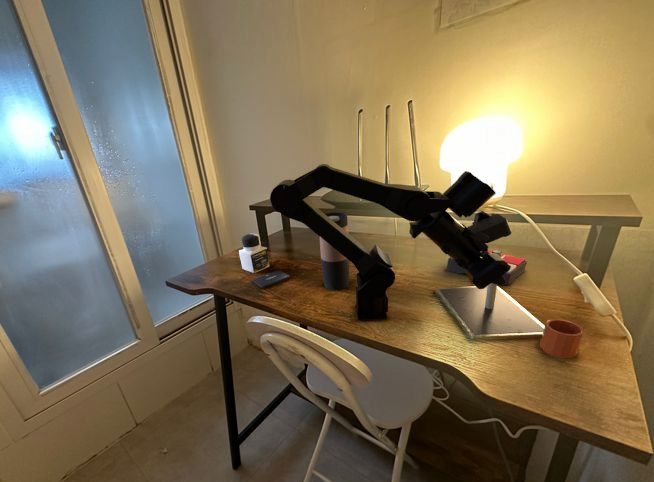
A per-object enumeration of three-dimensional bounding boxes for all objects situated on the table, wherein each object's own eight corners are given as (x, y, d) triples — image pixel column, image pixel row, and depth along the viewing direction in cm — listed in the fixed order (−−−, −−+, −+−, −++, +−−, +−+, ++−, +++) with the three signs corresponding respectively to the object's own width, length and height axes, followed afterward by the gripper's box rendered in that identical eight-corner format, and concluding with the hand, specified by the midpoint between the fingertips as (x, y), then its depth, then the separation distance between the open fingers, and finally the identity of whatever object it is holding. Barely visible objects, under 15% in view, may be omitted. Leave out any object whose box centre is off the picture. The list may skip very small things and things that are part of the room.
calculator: (511, 272, 72) (448, 256, 84) (506, 287, 74) (445, 270, 86) (528, 258, 78) (467, 244, 89) (524, 272, 80) (464, 257, 91)
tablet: (471, 341, 58) (471, 336, 58) (434, 292, 76) (435, 288, 76) (552, 338, 56) (554, 333, 56) (495, 288, 74) (496, 284, 73)
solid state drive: (252, 281, 96) (252, 279, 96) (278, 271, 100) (278, 269, 100) (262, 288, 91) (262, 286, 90) (290, 277, 95) (290, 275, 94)
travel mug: (333, 276, 92) (329, 211, 83) (355, 282, 87) (353, 213, 78) (317, 286, 87) (311, 218, 79) (339, 293, 82) (336, 221, 74)
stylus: (490, 309, 65) (498, 253, 59) (483, 306, 66) (490, 251, 61) (495, 307, 65) (504, 251, 60) (488, 304, 66) (496, 249, 61)
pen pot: (551, 360, 51) (559, 336, 49) (532, 342, 56) (539, 319, 54) (583, 359, 51) (592, 335, 49) (562, 341, 55) (569, 318, 53)
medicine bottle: (254, 273, 102) (247, 240, 97) (242, 269, 107) (235, 236, 102) (270, 266, 106) (264, 233, 101) (257, 262, 111) (252, 230, 106)
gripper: (507, 215, 49) (570, 274, 51) (466, 193, 65) (516, 238, 67) (448, 263, 54) (507, 314, 56) (424, 231, 70) (471, 272, 72)
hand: (500, 281), depth 63 cm, fingers closed
